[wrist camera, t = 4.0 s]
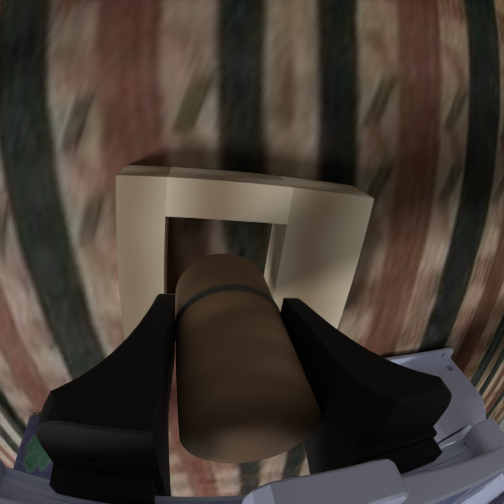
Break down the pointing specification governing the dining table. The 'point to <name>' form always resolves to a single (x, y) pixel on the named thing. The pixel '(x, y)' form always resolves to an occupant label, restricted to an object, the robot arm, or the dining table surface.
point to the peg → (236, 366)
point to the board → (241, 209)
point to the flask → (33, 452)
